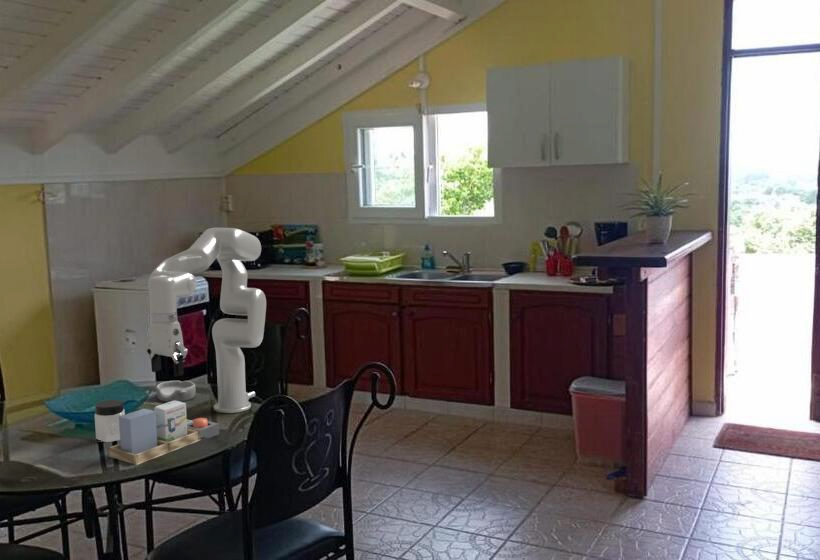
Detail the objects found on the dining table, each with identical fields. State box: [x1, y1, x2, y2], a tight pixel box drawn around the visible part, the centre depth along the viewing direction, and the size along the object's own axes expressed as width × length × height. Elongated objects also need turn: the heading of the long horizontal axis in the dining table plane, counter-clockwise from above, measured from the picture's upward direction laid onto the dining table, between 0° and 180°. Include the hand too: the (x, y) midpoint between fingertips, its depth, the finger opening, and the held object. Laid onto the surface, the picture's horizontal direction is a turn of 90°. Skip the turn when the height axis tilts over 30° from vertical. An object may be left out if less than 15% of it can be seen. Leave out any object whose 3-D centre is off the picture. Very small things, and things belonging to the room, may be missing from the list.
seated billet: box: [119, 408, 157, 454], centre depth 242 cm, size 9×5×12 cm, turn 147°
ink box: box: [153, 400, 188, 442], centre depth 252 cm, size 9×5×12 cm, turn 147°
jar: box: [94, 399, 126, 443], centre depth 257 cm, size 9×8×12 cm
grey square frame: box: [187, 420, 220, 439], centre depth 262 cm, size 8×8×4 cm
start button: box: [192, 417, 208, 429], centre depth 261 cm, size 4×4×4 cm
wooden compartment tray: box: [107, 429, 201, 466], centre depth 248 cm, size 24×13×4 cm, turn 147°
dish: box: [155, 380, 196, 403], centre depth 303 cm, size 14×14×5 cm
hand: (167, 373), depth 250 cm, fingers open, 9 cm apart
